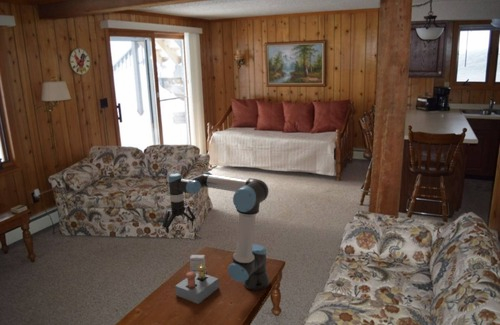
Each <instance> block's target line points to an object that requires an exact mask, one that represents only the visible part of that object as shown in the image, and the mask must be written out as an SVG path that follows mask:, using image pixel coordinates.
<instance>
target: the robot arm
mask: <svg viewBox="0 0 500 325" xmlns="http://www.w3.org/2000/svg"><path fill="white" fill-rule="evenodd" d="M167 178H168V181H167V182H168V187H169V196H170V197H169V199H170V210H168V209H167V210H165V216H164V219H163V222H162V224H161V226H162V228H164V229H165V233H166V234H167V237H168V238H169V239H172V234H171V227H170V226H171V224H172V223H173V221H174V219H175V218H176V217H179V216H182V215H184V217H186V218H187V219H188V229H189V232H191V233H193V226H194V220H196V216H195V215H194V213H193V212H192V210H191V207H190V206H189V205H187V204H186V205H185V201H184V200H185V199H184V193H186V194H191V195H196V194H199V192H200V191H201V189H203V188H209V189H211V188H212V189H217V190H221V191H222V190H223V191H229V192H233V193H234V194H233V198H232V202H233V205H234V206H235V208H236V209H235V210H236V212H237V213H238V222H237V223H238V224H237V238H236V239H237V240H236V249H235V251H236V252H234V253H233V254H232V263H230V264H229V265H228V267H227V271H228V275H229V277H231V278H232V280H234V281H235V282H238V283H243V286H244V287H245V288H246V289H248V290H250V291H261V290H264V289H267V288H268V287H269V286H270V283H271V282H270V277H269V274H268V272H267V251H266V248H265V246H263V245H260V244H254V236H255V227H256V226H255V225H256V215H257V214H259V213H260V204H261V203H262V202H264V201H266V199H267V198H268V195H269V191H270V190H269V187H268V185H267V183H266V182H265V181H263V180H261V179H257V178H251V177H249V178H247V179H245V178H244V179H243V178H238V177H237V178H236V177H229V176H224V175H223V176H221V175H216V174H215V175H213V173H211V172H209V171H206V172H202V173H200V174H198V175H196V176H193V177H190V178H188V179H187V178H183V176H182V174H181V173H171V174H169V175H168V177H167ZM185 211H187V212H188V214H189V215H188V214H187V213H186V212H185Z"/></svg>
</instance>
